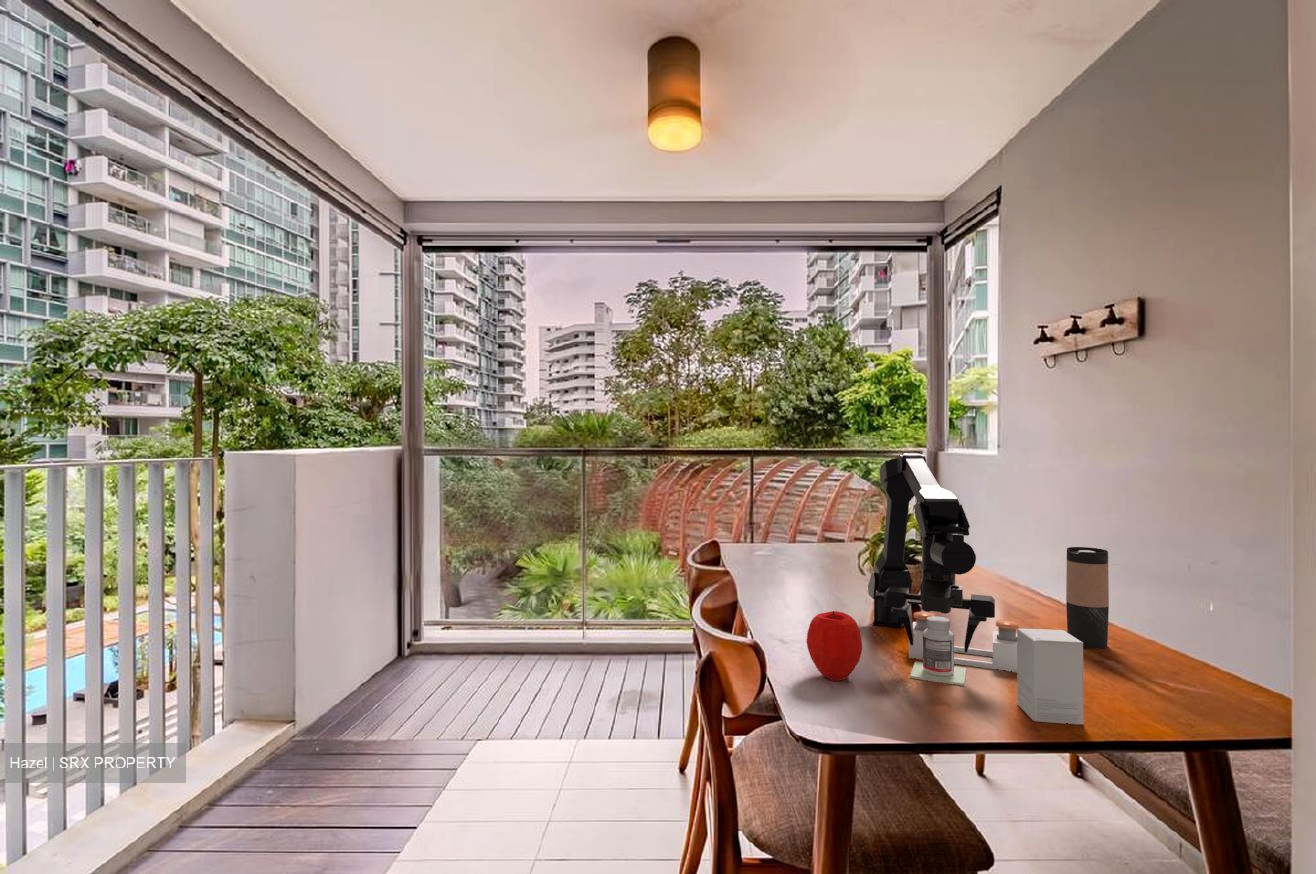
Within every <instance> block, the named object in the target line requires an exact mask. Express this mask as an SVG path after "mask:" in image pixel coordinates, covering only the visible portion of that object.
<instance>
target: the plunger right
mask: <svg viewBox="0 0 1316 874" xmlns="http://www.w3.org/2000/svg"><path fill="white" fill-rule="evenodd" d="M995 626H996V627H998V631H999V640H1007V641H1015V642H1016V633H1017V629H1020V624H1019V623H1018V622H1016V621H1011V620H996V621H995Z"/></svg>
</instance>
